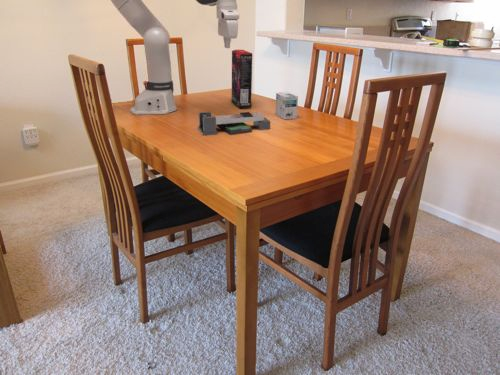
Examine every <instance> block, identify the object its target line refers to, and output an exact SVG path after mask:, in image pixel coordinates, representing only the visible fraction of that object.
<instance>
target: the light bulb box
mask: <svg viewBox="0 0 500 375" xmlns="http://www.w3.org/2000/svg"><path fill="white" fill-rule="evenodd" d="M298 102H299V96H298V95H295V94H293V93H291V92H288V91H286V92H285V91H283V92H281V91H280V92H275V115H276V116H278V117H279V118H282V119H283V120H295V119H298V108H299V107H298V104H299V103H298Z"/></svg>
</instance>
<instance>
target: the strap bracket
mask: <svg viewBox="0 0 500 375" xmlns="http://www.w3.org/2000/svg"><path fill="white" fill-rule="evenodd" d="M209 116H212V117H209ZM215 116H216V115H212V111H210V110H209V111H199V112H198V125H197V129H198V130H199V132H200V133H201V134H202V136H213V135H218V131H217V126H216V117H215ZM252 123H253V126H254V127H255V128H256V129H257V130H259V131H261V130H262V131H263V130H265V131H266V130H271V120H270V119H268V118H267V117H265V116H264V121H252Z"/></svg>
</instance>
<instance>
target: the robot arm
mask: <svg viewBox="0 0 500 375" xmlns="http://www.w3.org/2000/svg"><path fill="white" fill-rule="evenodd" d="M195 1H196V2H197V3H198V4H200V5H201V6H209V7H215V6H216V19H218V20H217V34H218V36H220V37H223V43H224V48H226V49H231V42H232V39H237V38H238V31H239V21H238V20H240V13H239V12H238V4H237V0H195ZM110 2H111V3H112V4H113V6H114V7H115V8H116V10H118V12H119V13H120V14H121V16H122V17H123V18H124V19H125V20H126V21H127V23H128V24H129V25H130V27H132V28H133V29H134V30H135V31H136V32H137V33H138V34H139V35H140V36H141V37H142V38H143V46H144V52H145V59H146V64H147V76H148V78H147V80H148V81H146V80H144V81H143V86H144V89H143V91H142V92H140V93H139V94H138V95H137V96H136V97H135V100H134V105H133V106H132V107H131V108H130V113H131V114H133V115H168V114H169V113H172V112H175V111H177V110H178V108H177V104H176V102H175V96H174V91H175V90H174V82H173V80H172V78H173V77H172V62H171V55H170V54H171V53H170V45H169V44H170V40H171V38H170V37H171V36H170V33H169V31H168V29H166V27H165V26H164V25H163V23H161V21H160V20H159V19H158V18H157V17H156V16H155V15H154V13H152V11H151V10H150V9H149V7H148V6H147V5H146V4H145V2H144V1H143V0H110Z"/></svg>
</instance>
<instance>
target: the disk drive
mask: <svg viewBox="0 0 500 375" xmlns="http://www.w3.org/2000/svg"><path fill="white" fill-rule="evenodd" d="M216 128H219V129H220V130H222V131H223V132H225V133H227V134H228V135H230V136H232V135H233V136H235V135H242V134H249V133H253V128H252V127H251V126H250V125H249V124H247V123H246V122H240V123H228V124H216Z"/></svg>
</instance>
